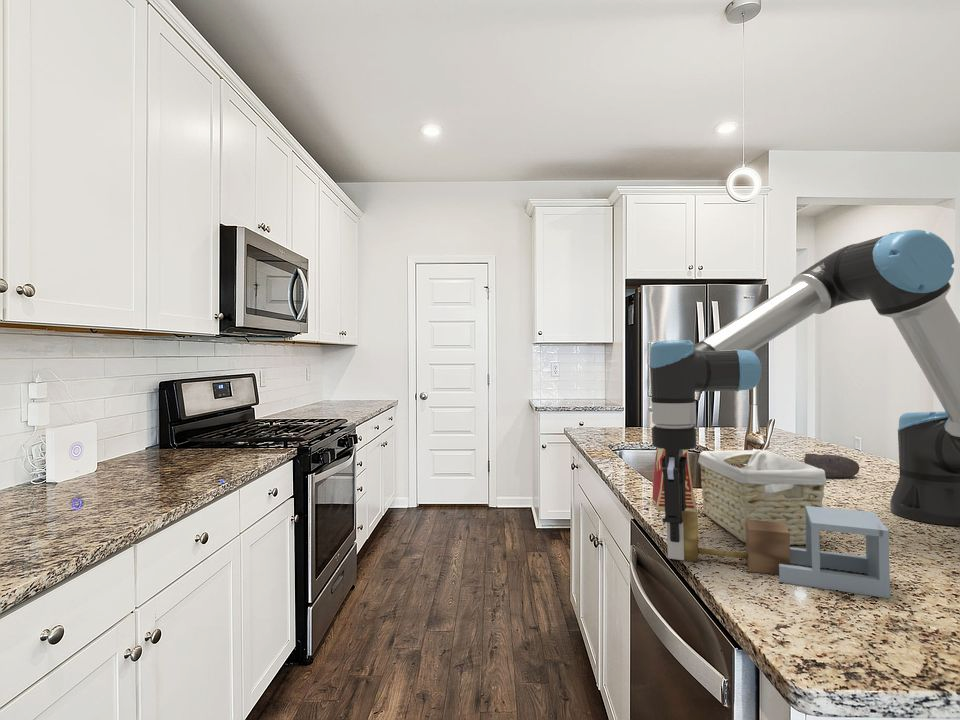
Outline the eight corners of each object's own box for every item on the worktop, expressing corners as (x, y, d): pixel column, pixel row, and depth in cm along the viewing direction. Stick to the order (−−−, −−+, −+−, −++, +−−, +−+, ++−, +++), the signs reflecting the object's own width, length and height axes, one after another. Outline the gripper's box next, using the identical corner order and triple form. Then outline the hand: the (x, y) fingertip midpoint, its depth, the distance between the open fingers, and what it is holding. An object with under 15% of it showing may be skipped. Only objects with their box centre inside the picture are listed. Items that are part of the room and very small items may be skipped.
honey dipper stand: (784, 562, 92) (784, 516, 92) (790, 576, 87) (789, 527, 87) (679, 551, 99) (679, 508, 99) (678, 562, 93) (678, 517, 93)
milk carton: (697, 512, 123) (695, 426, 123) (656, 510, 125) (654, 425, 125) (690, 501, 132) (688, 421, 132) (651, 500, 134) (650, 421, 134)
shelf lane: (875, 572, 88) (873, 512, 88) (890, 598, 78) (888, 530, 78) (776, 559, 94) (775, 502, 94) (779, 582, 85) (778, 519, 85)
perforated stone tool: (855, 476, 156) (855, 452, 156) (864, 480, 151) (863, 456, 151) (799, 475, 159) (798, 452, 159) (805, 479, 154) (805, 455, 154)
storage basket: (696, 512, 123) (695, 449, 123) (768, 512, 123) (767, 448, 123) (742, 549, 100) (741, 470, 100) (831, 549, 99) (830, 469, 99)
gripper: (658, 420, 105) (661, 538, 105) (644, 430, 91) (648, 567, 91) (699, 421, 102) (702, 543, 102) (691, 431, 88) (695, 574, 87)
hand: (677, 554), depth 96 cm, fingers closed on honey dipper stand, 3 cm apart
